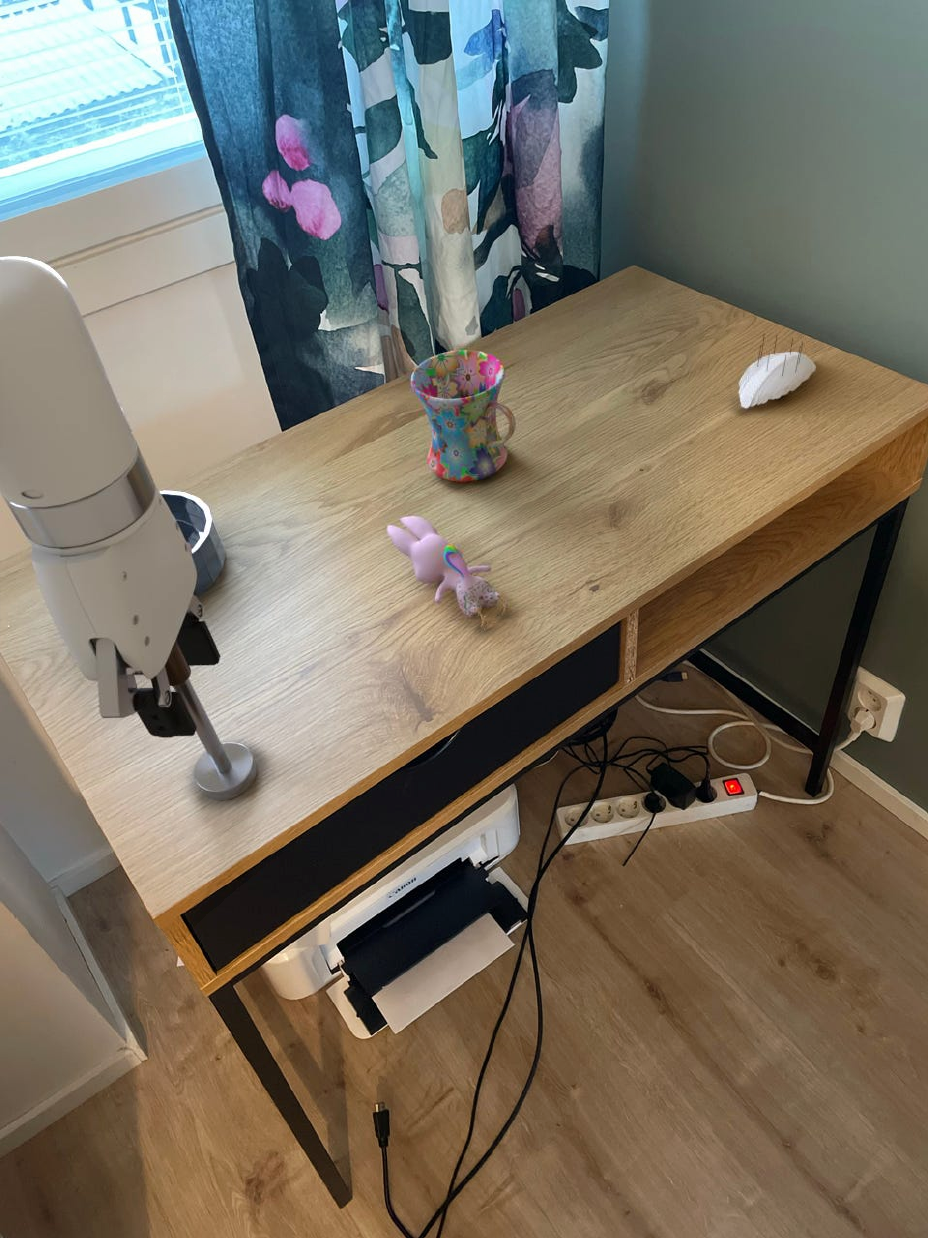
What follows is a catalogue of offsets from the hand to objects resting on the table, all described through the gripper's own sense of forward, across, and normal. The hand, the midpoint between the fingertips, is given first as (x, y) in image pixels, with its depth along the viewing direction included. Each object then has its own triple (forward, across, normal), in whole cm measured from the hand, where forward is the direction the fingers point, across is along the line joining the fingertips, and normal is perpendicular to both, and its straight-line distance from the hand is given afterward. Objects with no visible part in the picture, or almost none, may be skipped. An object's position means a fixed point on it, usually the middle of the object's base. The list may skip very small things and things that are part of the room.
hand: (186, 694), depth 63 cm
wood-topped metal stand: (+10, 0, 0) cm, 10 cm away
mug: (+10, -38, +18) cm, 43 cm away
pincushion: (+10, -51, +50) cm, 72 cm away
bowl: (+10, -24, -13) cm, 29 cm away
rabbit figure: (+10, -21, +16) cm, 28 cm away
